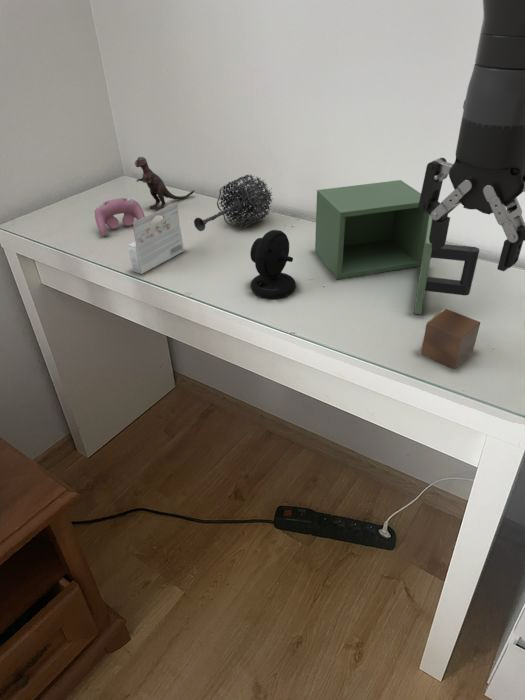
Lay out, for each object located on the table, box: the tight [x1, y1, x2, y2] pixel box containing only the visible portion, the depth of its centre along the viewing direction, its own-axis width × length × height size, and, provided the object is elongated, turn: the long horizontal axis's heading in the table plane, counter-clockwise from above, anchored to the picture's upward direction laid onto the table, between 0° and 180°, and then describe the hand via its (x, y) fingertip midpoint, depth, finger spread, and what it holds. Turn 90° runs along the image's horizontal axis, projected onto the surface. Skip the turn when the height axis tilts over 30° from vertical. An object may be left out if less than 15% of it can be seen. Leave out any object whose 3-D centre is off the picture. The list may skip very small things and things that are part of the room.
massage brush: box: [193, 174, 274, 232], centre depth 106 cm, size 9×22×9 cm, turn 144°
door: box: [413, 214, 480, 315], centre depth 81 cm, size 7×16×12 cm, turn 163°
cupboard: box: [314, 179, 429, 280], centre depth 92 cm, size 11×16×12 cm
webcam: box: [250, 229, 297, 300], centre depth 85 cm, size 8×8×10 cm
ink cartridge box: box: [127, 201, 185, 275], centre depth 94 cm, size 2×11×10 cm, turn 144°
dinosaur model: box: [134, 156, 195, 212], centre depth 117 cm, size 4×12×15 cm
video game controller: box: [94, 197, 146, 237], centre depth 109 cm, size 10×5×7 cm, turn 116°
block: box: [420, 308, 481, 370], centre depth 70 cm, size 5×5×5 cm
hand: (469, 257), depth 64 cm, fingers open, 8 cm apart
